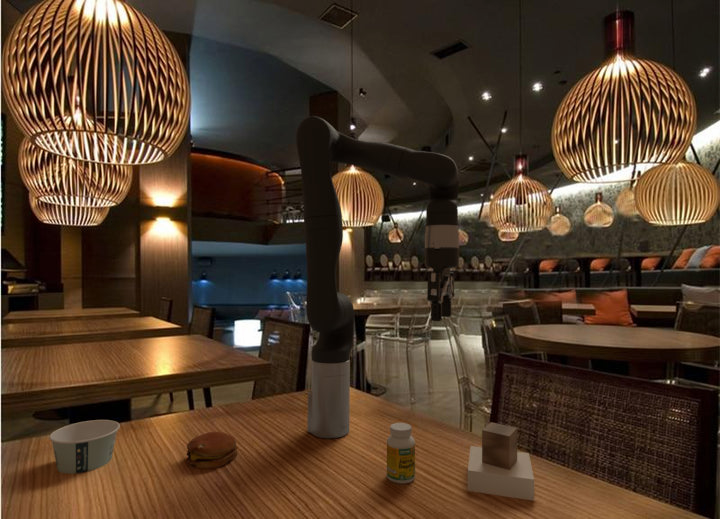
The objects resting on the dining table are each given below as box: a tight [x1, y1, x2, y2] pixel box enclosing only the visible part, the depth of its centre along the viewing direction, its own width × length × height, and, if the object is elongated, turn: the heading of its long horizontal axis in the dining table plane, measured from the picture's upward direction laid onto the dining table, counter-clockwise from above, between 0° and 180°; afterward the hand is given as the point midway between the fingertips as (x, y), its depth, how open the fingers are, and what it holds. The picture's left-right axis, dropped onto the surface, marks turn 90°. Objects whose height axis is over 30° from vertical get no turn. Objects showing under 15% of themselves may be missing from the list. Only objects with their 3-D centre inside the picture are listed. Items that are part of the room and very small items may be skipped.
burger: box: [186, 431, 238, 470], centre depth 89 cm, size 10×9×5 cm
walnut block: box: [481, 421, 518, 470], centre depth 81 cm, size 5×5×6 cm
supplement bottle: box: [386, 422, 416, 485], centre depth 82 cm, size 5×5×10 cm
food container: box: [48, 419, 121, 475], centre depth 87 cm, size 12×12×6 cm
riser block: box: [467, 445, 535, 502], centre depth 81 cm, size 11×11×4 cm
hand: (441, 318), depth 97 cm, fingers open, 8 cm apart
